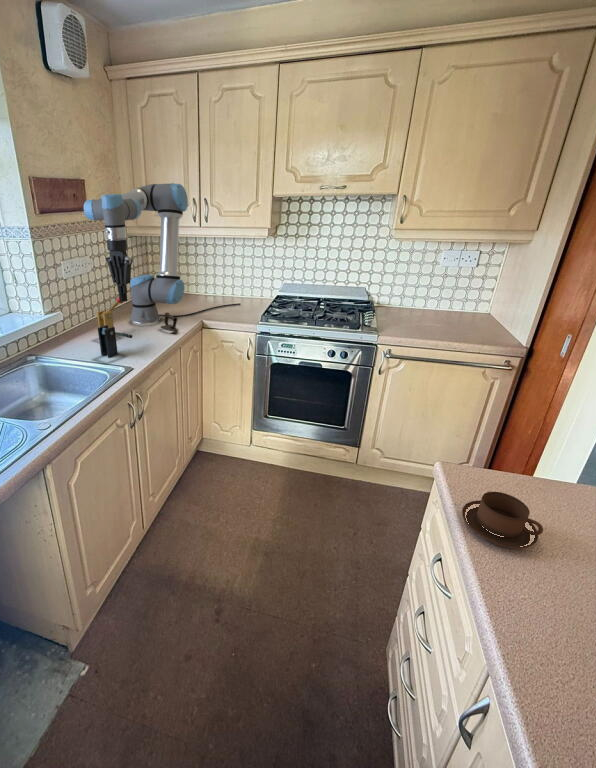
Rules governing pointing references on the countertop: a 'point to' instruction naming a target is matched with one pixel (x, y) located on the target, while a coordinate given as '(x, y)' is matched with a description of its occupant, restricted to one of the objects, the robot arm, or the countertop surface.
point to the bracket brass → (105, 319)
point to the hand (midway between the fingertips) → (123, 301)
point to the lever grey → (119, 334)
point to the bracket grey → (108, 341)
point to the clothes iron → (170, 327)
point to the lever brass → (112, 306)
